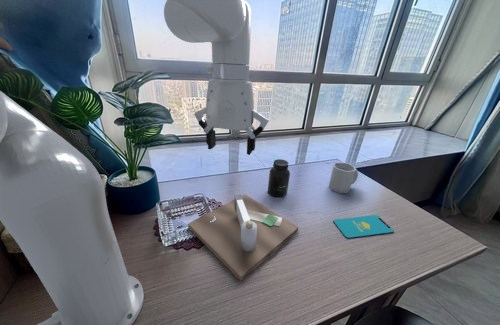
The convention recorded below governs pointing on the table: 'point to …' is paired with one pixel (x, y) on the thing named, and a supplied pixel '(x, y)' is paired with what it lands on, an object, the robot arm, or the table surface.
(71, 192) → the robot arm
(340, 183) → the cup
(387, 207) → the table surface
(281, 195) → the supplement bottle
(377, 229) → the smartphone
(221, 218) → the board
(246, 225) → the tuning lever
